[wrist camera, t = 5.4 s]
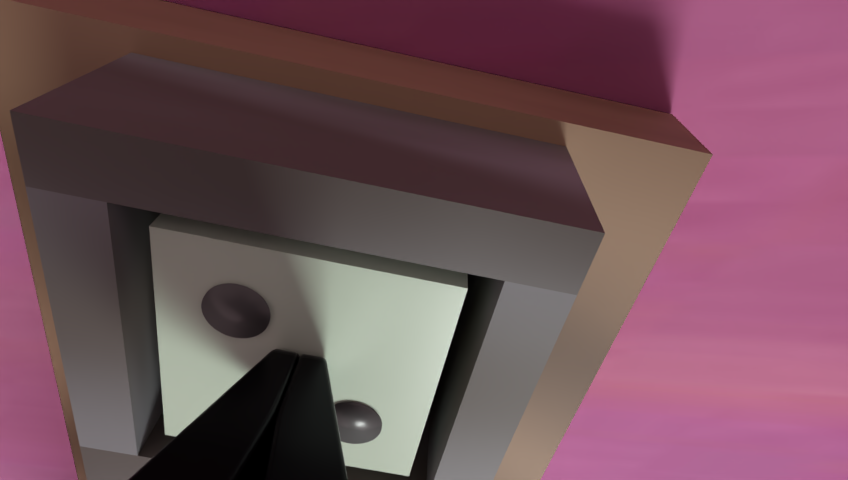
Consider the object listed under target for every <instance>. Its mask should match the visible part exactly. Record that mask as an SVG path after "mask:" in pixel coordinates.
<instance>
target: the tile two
mask: <svg viewBox="0 0 848 480" xmlns="http://www.w3.org/2000/svg"><path fill="white" fill-rule="evenodd" d="M149 232H150V245H151V258H152V271H153V284H154V297H155V310H156V323H157V336H158V349H159V362H160V375H161V389H162V402H163V415H164V428H165V435H169V436H175V437H176V436H177V435H178V434H179V433H180V432H181V431H183V430H184V429H185V428H186V427H187V426H188V425H189V424H190V423H191V422H193V421H194V420H195V419H196V418H197V417H198V416H199V415H200V414H201V413H203V412H204V411H205V410H206V409H207V408H208V407H209V406H210V405H211V404H213V403H214V402H215V401H216V400H217V399H218V398H219V397H220V396H222V395H223V394H224V393H225V392H226V391H227V390H228V389H229V388H230V387H232V386H233V385H234V384H235V383H236V382H237V381H238V380H239V379H240V378H242V377H243V376H244V375H245V374H246V373H247V372H248V371H249V370H250V369H252V368H253V367H254V366H255V365H256V364H257V363H258V362H259V361H260V360H262V359H263V358H264V357H265V356H266V355H267V354H268V353H269V352H271V351H272V350H274V349H280V350H286V351H291V352H296V353H297V354H298V355H299V357H300V356H301V355H302V354H307V355H313V356H318V357H323V358H325V359H326V361H327V366H328V371H329V377H330V383H331V388H332V394H333V399H334V405H335V411H336V416H337V422H338V427H339V433H340V439H341V444H342V450H343V456H344V461H345V466H351V467H357V468H363V469H369V470H374V471H380V472H386V473H392V474H398V475H404V476H409V475H410V471H411V468H412V465H413V462H414V459H415V455H416V452H417V449H418V446H419V443H420V439H421V436H422V433H423V430H424V427H425V424H426V420H427V417H428V414H429V411H430V408H431V404H432V401H433V398H434V395H435V392H436V389H437V385H438V382H439V379H440V376H441V373H442V369H443V366H444V363H445V360H446V357H447V354H448V350H449V347H450V344H451V341H452V338H453V334H454V331H455V328H456V325H457V322H458V318H459V315H460V312H461V309H462V306H463V303H464V299H465V296H466V293H467V290H468V276H467V273H462V272H457V271H452V270H447V269H441V268H436V267H431V266H426V265H421V264H416V263H411V262H406V261H401V260H396V259H391V258H386V257H381V256H376V255H371V254H365V253H360V252H355V251H350V250H345V249H340V248H335V247H330V246H325V245H320V244H315V243H310V242H305V241H300V240H295V239H290V238H284V237H279V236H274V235H269V234H264V233H259V232H254V231H249V230H244V229H239V228H234V227H229V226H224V225H219V224H214V223H209V222H203V221H198V220H193V219H188V218H183V217H178V216H173V215H168V214H163V213H161V214H160V215H159V216H158V217H157V218H156V219H155V220H154V221H153V223H152V224H151V225H150V226H149Z"/></svg>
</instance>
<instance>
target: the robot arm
mask: <svg viewBox="0 0 848 480" xmlns="http://www.w3.org/2000/svg"><path fill="white" fill-rule="evenodd" d="M128 480H348V478H347V472H346V467H345V461H344V456H343V450H342V444H341V439H340V433H339V427H338V422H337V416H336V411H335V405H334V399H333V394H332V388H331V383H330V377H329V371H328V366H327V361H326V359H325V358H323V357H318V356H313V355H307V354H302V355H301V356H300V357H299V355H298V354H297V353H296V352H291V351H286V350H280V349H274V350H272V351H271V352H269V353H268V354H267V355H266V356H265V357H264V358H263V359H262V360H260V361H259V362H258V363H257V364H256V365H255V366H254V367H253V368H252V369H250V370H249V371H248V372H247V373H246V374H245V375H244V376H243V377H242V378H240V379H239V380H238V381H237V382H236V383H235V384H234V385H233V386H232V387H230V388H229V389H228V390H227V391H226V392H225V393H224V394H223V395H222V396H220V397H219V398H218V399H217V400H216V401H215V402H214V403H213V404H211V405H210V406H209V407H208V408H207V409H206V410H205V411H204V412H203V413H201V414H200V415H199V416H198V417H197V418H196V419H195V420H194V421H193V422H191V423H190V424H189V425H188V426H187V427H186V428H185V429H184V430H183V431H181V432H180V433H179V434H178V435H177V436H176V437H175V438H174V439H173V440H171V441H170V442H169V443H168V444H167V445H166V446H165V447H164V448H163V449H161V450H160V451H159V452H158V453H157V454H156V455H155V456H154V457H153V458H151V459H150V460H149V461H148V462H147V463H146V464H145V465H144V466H143V467H141V468H140V469H139V470H138V471H137V472H136V473H135V474H134V475H133V476H131V477H130V478H129V479H128Z"/></svg>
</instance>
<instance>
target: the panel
mask: <svg viewBox="0 0 848 480" xmlns="http://www.w3.org/2000/svg"><path fill="white" fill-rule="evenodd" d="M0 132H1V136H2V141H3V145H4V150H5V154H6V159H7V163H8V168H9V172H10V177H11V181H12V186H13V190H14V194H15V199H16V203H17V208H18V212H19V217H20V221H21V226H22V230H23V235H24V239H25V244H26V248H27V253H28V257H29V262H30V266H31V270H32V275H33V279H34V284H35V288H36V293H37V297H38V302H39V306H40V311H41V315H42V320H43V324H44V329H45V333H46V338H47V342H48V346H49V351H50V355H51V360H52V364H53V369H54V373H55V378H56V382H57V387H58V391H59V396H60V400H61V405H62V409H63V413H64V418H65V422H66V427H67V431H68V436H69V440H70V445H71V449H72V454H73V458H74V463H75V467H76V472H77V476H78V480H128V479H129V478H130V477H131V476H133V475H134V474H135V473H136V472H137V471H138V470H139V469H140V468H141V467H143V466H144V465H145V464H146V463H147V462H148V461H149V460H150V459H151V458H153V457H154V456H155V455H156V454H157V453H158V452H159V451H160V450H161V449H163V448H164V447H165V446H166V445H167V444H168V443H169V442H170V441H171V440H173V439H174V438H175V436H169V435H165V428H164V415H163V402H162V389H161V375H160V362H159V349H158V336H157V323H156V310H155V297H154V284H153V271H152V258H151V245H150V232H149V226H150V225H151V224H152V223H153V221H154V220H155V219H156V218H157V217H158V216H159V215H160V214H161V213H163V214H168V215H173V216H178V217H183V218H188V219H193V220H198V221H203V222H209V223H214V224H219V225H224V226H229V227H234V228H239V229H244V230H249V231H254V232H259V233H264V234H269V235H274V236H279V237H284V238H290V239H295V240H300V241H305V242H310V243H315V244H320V245H325V246H330V247H335V248H340V249H345V250H350V251H355V252H360V253H365V254H371V255H376V256H381V257H386V258H391V259H396V260H401V261H406V262H411V263H416V264H421V265H426V266H431V267H436V268H441V269H447V270H452V271H457V272H462V273H467V276H468V290H467V293H466V296H465V299H464V303H463V306H462V309H461V312H460V315H459V318H458V322H457V325H456V328H455V331H454V334H453V338H452V341H451V344H450V347H449V350H448V354H447V357H446V360H445V363H444V366H443V369H442V373H441V376H440V379H439V382H438V385H437V389H436V392H435V395H434V398H433V401H432V404H431V408H430V411H429V414H428V417H427V420H426V424H425V427H424V430H423V433H422V436H421V439H420V443H419V446H418V449H417V452H416V455H415V459H414V462H413V465H412V468H411V471H410V475H409V476H404V475H398V474H392V473H386V472H380V471H374V470H369V469H363V468H357V467H351V466H345V467H346V472H347V478H348V480H540V479H541V477H542V475H543V474H544V472H545V470H546V468H547V466H548V464H549V462H550V460H551V458H552V457H553V455H554V453H555V451H556V449H557V447H558V445H559V443H560V441H561V440H562V438H563V436H564V434H565V432H566V430H567V428H568V426H569V425H570V423H571V421H572V419H573V417H574V415H575V413H576V411H577V409H578V408H579V406H580V404H581V402H582V400H583V398H584V396H585V394H586V392H587V391H588V389H589V387H590V385H591V383H592V381H593V379H594V377H595V375H596V374H597V372H598V370H599V368H600V366H601V364H602V362H603V360H604V358H605V357H606V355H607V353H608V351H609V349H610V347H611V345H612V343H613V341H614V340H615V338H616V336H617V334H618V332H619V330H620V328H621V326H622V325H623V323H624V321H625V319H626V317H627V315H628V313H629V311H630V309H631V308H632V306H633V304H634V302H635V300H636V298H637V296H638V294H639V292H640V291H641V289H642V287H643V285H644V283H645V281H646V279H647V277H648V275H649V274H650V272H651V270H652V268H653V266H654V264H655V262H656V260H657V258H658V257H659V255H660V253H661V251H662V249H663V247H664V245H665V243H666V242H667V240H668V238H669V236H670V234H671V232H672V230H673V228H674V226H675V225H676V223H677V221H678V219H679V217H680V215H681V213H682V211H683V209H684V208H685V206H686V204H687V202H688V200H689V198H690V196H691V194H692V192H693V191H694V189H695V187H696V185H697V183H698V181H699V179H700V177H701V175H702V174H703V172H704V170H705V168H706V166H707V164H708V162H709V160H710V158H711V157H712V155H713V154H712V153H711V152H710V151H709V150H708V149H707V148H705V147H704V146H703V145H702V144H701V143H700V142H699V141H698V140H697V139H696V138H695V137H694V136H693V135H692V134H691V133H690V132H689V131H688V130H687V129H686V128H685V127H684V126H683V125H682V124H681V123H680V122H679V121H678V120H677V119H676V118H675V117H674V116H673V115H672V114H668V113H664V112H659V111H655V110H650V109H646V108H641V107H637V106H632V105H628V104H623V103H619V102H614V101H610V100H606V99H601V98H597V97H592V96H588V95H583V94H579V93H574V92H570V91H565V90H561V89H556V88H552V87H547V86H543V85H538V84H534V83H529V82H525V81H520V80H516V79H512V78H507V77H503V76H498V75H494V74H489V73H485V72H480V71H476V70H471V69H467V68H462V67H458V66H453V65H449V64H444V63H440V62H435V61H431V60H427V59H422V58H418V57H413V56H409V55H404V54H400V53H395V52H391V51H386V50H382V49H377V48H373V47H368V46H364V45H359V44H355V43H350V42H346V41H342V40H337V39H333V38H328V37H324V36H319V35H315V34H310V33H306V32H301V31H297V30H292V29H288V28H283V27H279V26H274V25H270V24H265V23H261V22H256V21H252V20H248V19H243V18H239V17H234V16H230V15H225V14H221V13H216V12H212V11H207V10H203V9H198V8H194V7H189V6H185V5H180V4H176V3H171V2H167V1H163V0H0Z"/></svg>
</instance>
